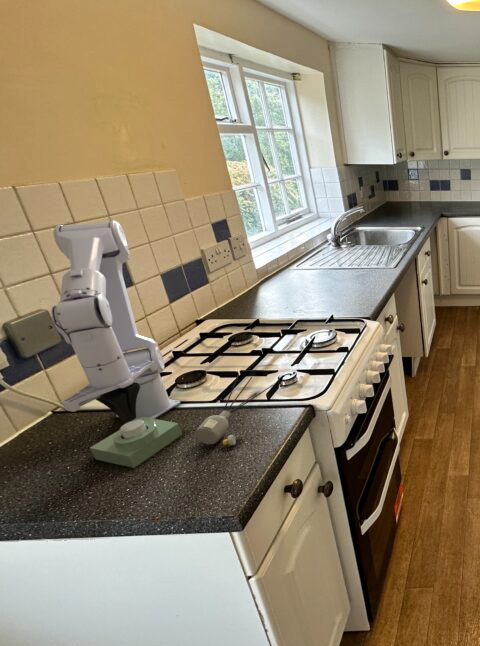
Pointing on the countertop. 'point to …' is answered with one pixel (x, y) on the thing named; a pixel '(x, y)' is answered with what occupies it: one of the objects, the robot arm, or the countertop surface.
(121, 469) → the countertop surface
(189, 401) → the countertop surface
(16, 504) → the countertop surface
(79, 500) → the countertop surface
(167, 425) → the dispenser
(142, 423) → the white round button
